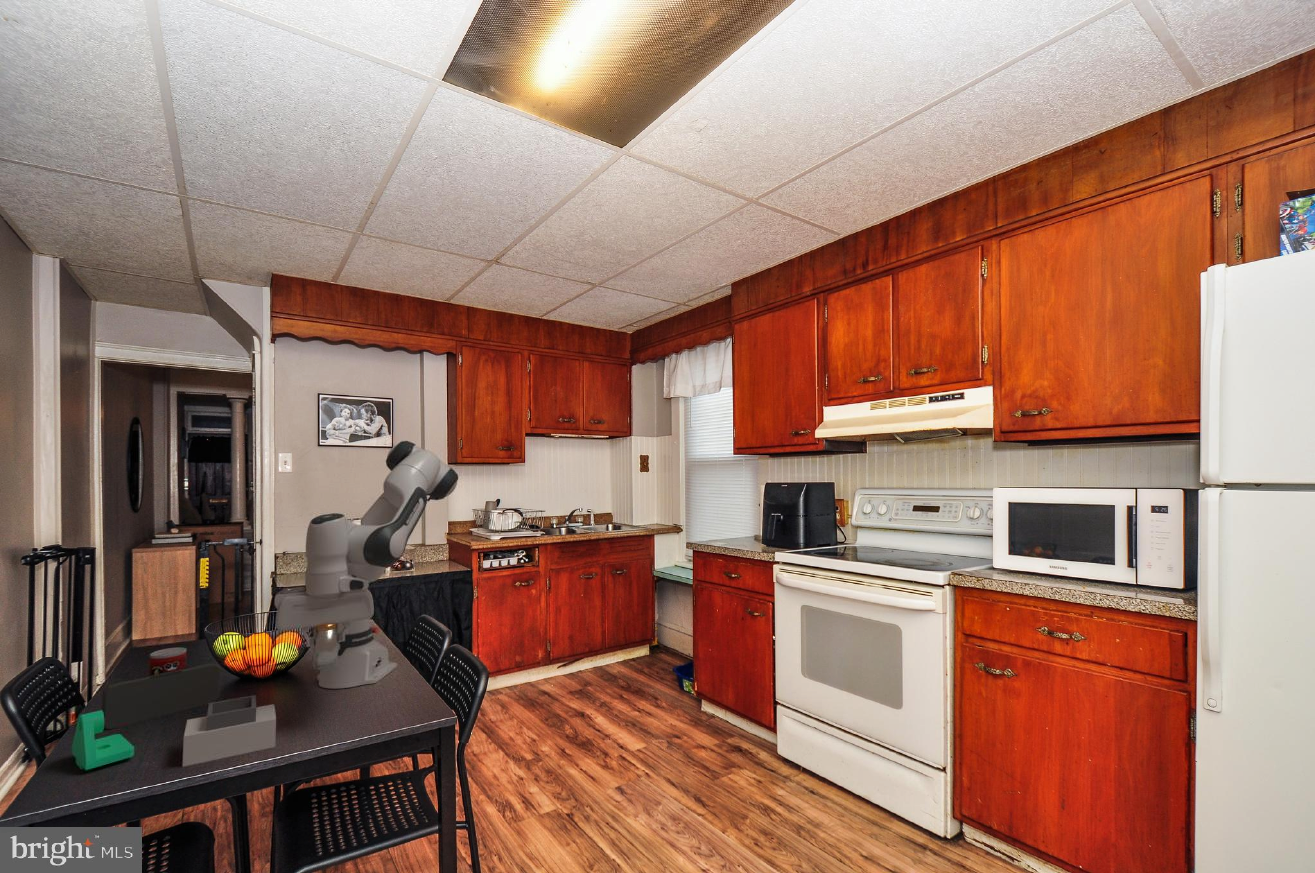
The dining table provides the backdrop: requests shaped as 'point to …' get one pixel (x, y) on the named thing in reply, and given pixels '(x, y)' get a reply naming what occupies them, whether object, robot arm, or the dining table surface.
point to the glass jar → (325, 646)
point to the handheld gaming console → (159, 695)
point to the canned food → (167, 660)
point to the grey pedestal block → (229, 730)
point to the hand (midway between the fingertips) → (325, 643)
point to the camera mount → (97, 743)
